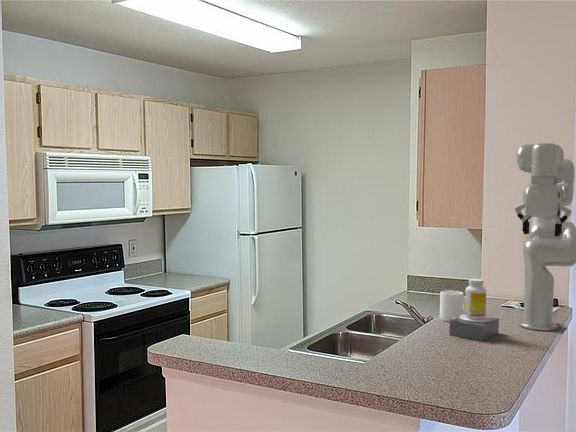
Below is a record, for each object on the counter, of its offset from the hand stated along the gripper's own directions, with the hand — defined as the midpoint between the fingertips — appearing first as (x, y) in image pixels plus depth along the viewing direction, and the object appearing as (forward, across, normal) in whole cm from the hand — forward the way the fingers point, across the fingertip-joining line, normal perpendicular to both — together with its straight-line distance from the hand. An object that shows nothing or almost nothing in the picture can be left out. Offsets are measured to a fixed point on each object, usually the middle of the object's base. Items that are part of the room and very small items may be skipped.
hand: (541, 235), depth 188 cm
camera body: (+34, +18, +8) cm, 40 cm away
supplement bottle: (+29, +18, +8) cm, 35 cm away
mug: (+34, +32, -7) cm, 48 cm away
